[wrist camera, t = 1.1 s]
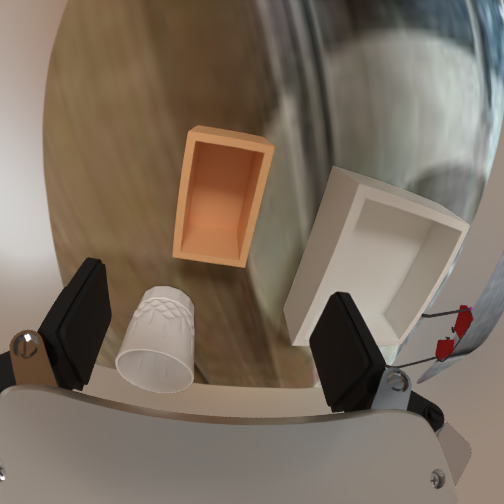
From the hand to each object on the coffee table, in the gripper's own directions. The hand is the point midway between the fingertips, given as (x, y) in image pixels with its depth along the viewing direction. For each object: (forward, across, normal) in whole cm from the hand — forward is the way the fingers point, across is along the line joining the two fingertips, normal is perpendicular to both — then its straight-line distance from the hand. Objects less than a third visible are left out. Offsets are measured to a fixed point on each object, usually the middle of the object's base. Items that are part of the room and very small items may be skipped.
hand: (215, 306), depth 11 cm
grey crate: (+16, -18, +5) cm, 25 cm away
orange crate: (+17, 0, 0) cm, 17 cm away
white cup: (+17, +4, +16) cm, 23 cm away
